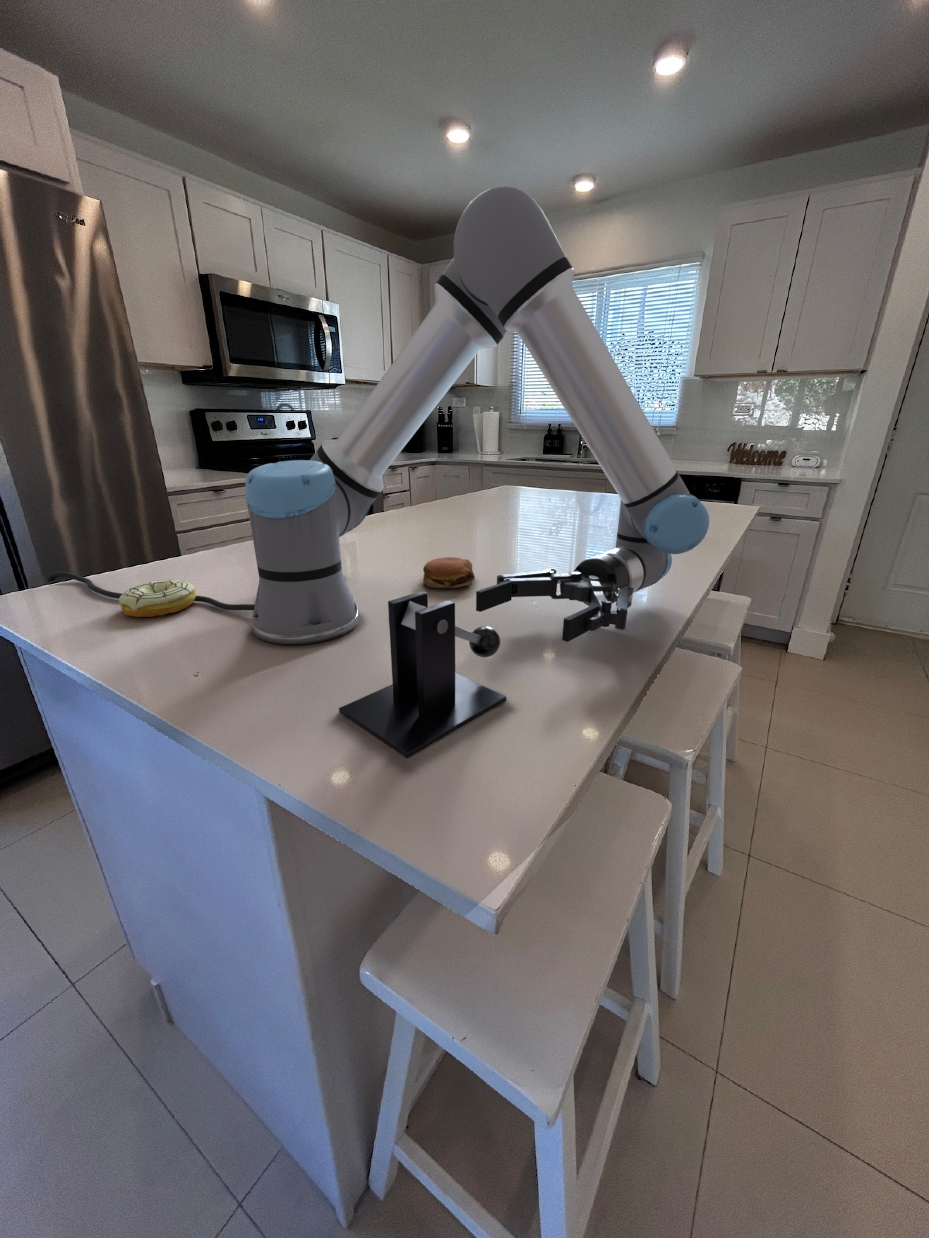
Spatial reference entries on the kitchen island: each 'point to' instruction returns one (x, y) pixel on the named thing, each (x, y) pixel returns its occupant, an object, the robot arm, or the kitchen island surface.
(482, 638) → the lever handle
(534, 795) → the kitchen island surface
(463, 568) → the burger
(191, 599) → the decorated donut
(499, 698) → the black stand
